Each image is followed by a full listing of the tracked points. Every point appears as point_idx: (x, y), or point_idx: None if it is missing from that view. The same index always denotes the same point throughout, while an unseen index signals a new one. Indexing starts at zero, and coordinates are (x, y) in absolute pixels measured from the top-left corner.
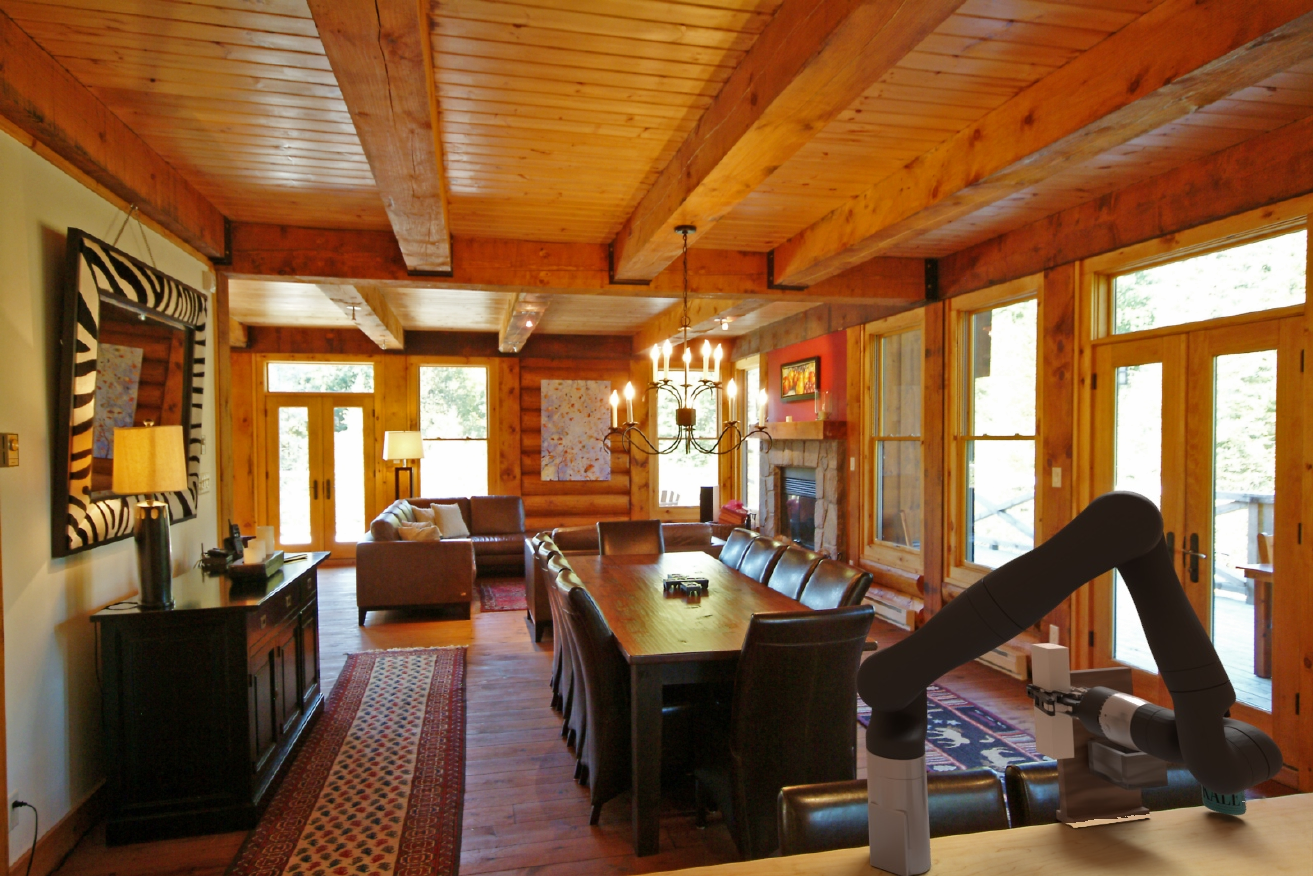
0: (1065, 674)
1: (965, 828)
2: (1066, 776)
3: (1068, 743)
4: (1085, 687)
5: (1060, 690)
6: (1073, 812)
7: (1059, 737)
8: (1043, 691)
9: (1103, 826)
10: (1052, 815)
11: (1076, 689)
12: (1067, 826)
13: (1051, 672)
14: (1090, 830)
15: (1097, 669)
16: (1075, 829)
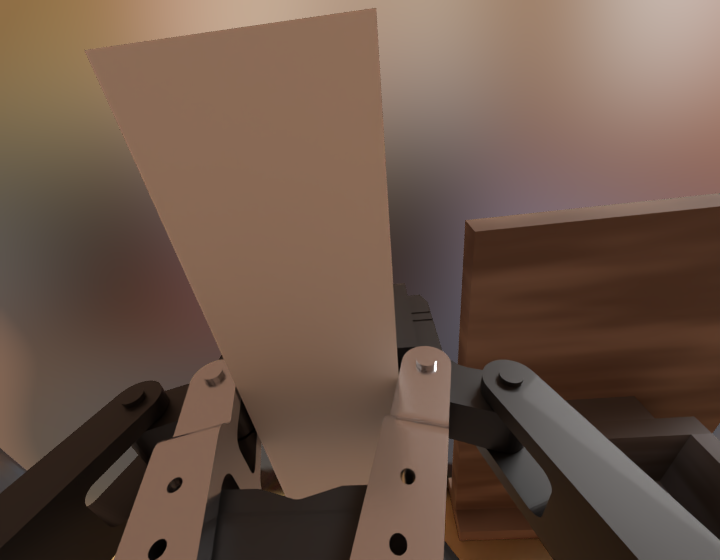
0: (349, 297)
1: (263, 483)
2: (465, 463)
3: None
4: (519, 379)
5: (187, 467)
6: (472, 506)
7: None
8: (189, 393)
9: (534, 544)
10: (449, 469)
11: (377, 445)
12: (452, 523)
13: (212, 287)
14: (493, 557)
15: (691, 200)
16: (461, 542)
